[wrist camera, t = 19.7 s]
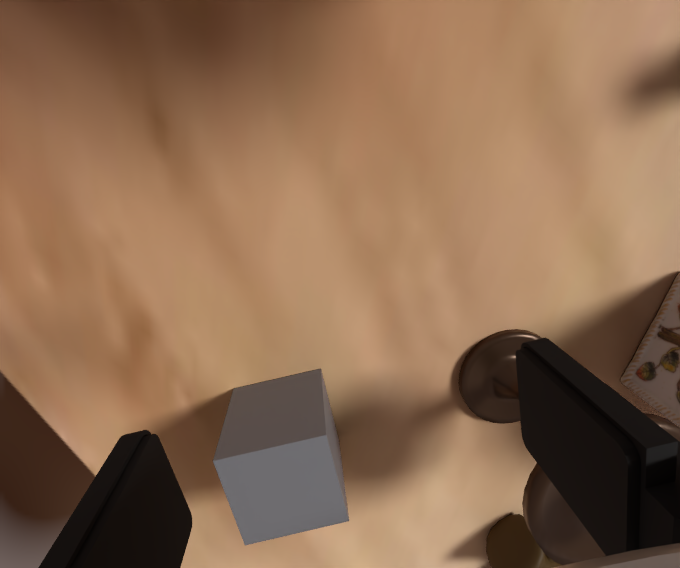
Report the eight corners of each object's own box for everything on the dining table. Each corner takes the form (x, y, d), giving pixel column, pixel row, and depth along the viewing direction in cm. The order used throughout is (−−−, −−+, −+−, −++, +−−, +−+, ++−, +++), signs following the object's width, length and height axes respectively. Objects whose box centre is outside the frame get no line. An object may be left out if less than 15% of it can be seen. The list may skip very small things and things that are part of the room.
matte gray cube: (320, 368, 36) (326, 434, 28) (339, 440, 39) (349, 520, 30) (233, 388, 36) (212, 461, 28) (257, 459, 39) (245, 545, 30)
